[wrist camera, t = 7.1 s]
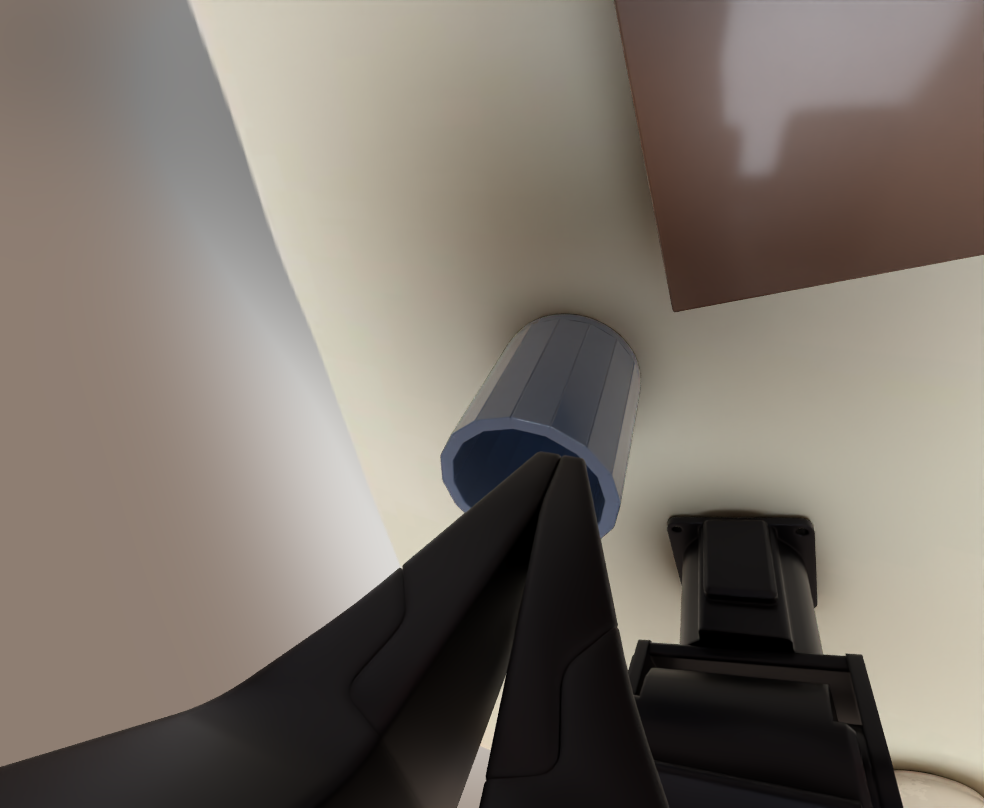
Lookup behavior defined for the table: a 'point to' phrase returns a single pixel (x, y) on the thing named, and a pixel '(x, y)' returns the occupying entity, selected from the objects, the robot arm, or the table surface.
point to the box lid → (807, 138)
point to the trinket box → (934, 792)
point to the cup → (550, 412)
